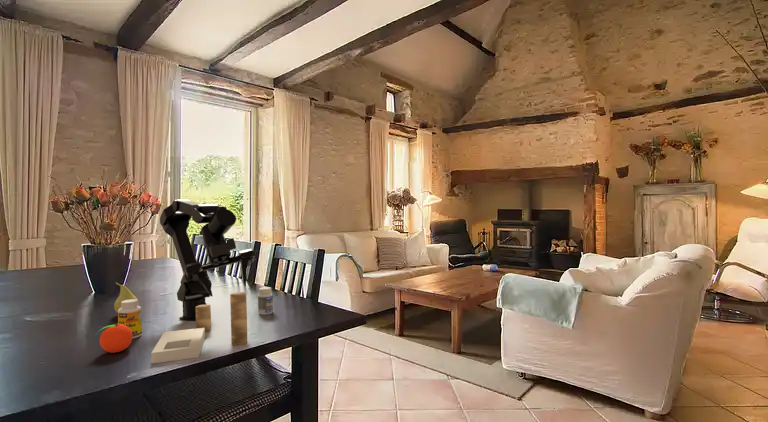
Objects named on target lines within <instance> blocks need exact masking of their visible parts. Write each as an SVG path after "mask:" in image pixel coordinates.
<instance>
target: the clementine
mask: <svg viewBox="0 0 768 422" xmlns="http://www.w3.org/2000/svg"><path fill="white" fill-rule="evenodd" d="M103 329H104V330H103ZM101 330H103V331H102V332H101V334H100V335H99V344H100V347H101V348H102V350H104V351H105V352H108V353H111V354H113V353H115V354H116V352H117V353H120V352H122V351H124V350H126V349H127V348H128V347H129V346H130V345H131V343H132V341H133V339H132V336H133V335H132V331H131V329H130V328H129V327H128V326H126V325H123V324H118V323H115V324H109V325H106V326H104V327H102V328H101V329H99V330H98V331H97V333H96V334H95V336H94V337H96V335H97V334H98V333H99V331H101Z"/></svg>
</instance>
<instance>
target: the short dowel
mask: <svg viewBox="0 0 768 422" xmlns="http://www.w3.org/2000/svg"><path fill="white" fill-rule="evenodd" d="M211 308H212V307H211V304H206V305H199V306H196V320H195V329H196V328H205V333H206V332H209V331H211V330H212V312H211V311H212V309H211Z"/></svg>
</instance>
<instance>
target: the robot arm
mask: <svg viewBox="0 0 768 422" xmlns="http://www.w3.org/2000/svg"><path fill="white" fill-rule="evenodd" d="M191 220H192V221H194V222H195V224H204V225H203V226H202V227H201V229H200V230H199V236H202V240H203V243H204V246H205V249H206V253H207V257H208V261H209V262H208V263H203V264H201V261H197V258H196V256H195V252H194V249H193V246H192V244H191V241H190V237H189V235H188V232H187V231H188V229H189V227H190V221H191ZM236 222H237V216H236V214H235V213H234V212H233V211H232V210H231V209H227V206H226V205H221V206H219V205H218V204H217V203H215V204H213V203H212V204H211V203H210V204H205V203H203V204H201V203H198V202H195V201H192V200H190V199H188V198H184V199H183V198H181V199H180V198H179V199H178V198H176V199H174V200H172V203H171V204H169V205H168V206H167V207H165V208H164V209H163V210H162V211H161V214H160V217H159V224H160V226H162V230H163V232H164V233H165V234H167V235H168V236H169V237H171V239H172V243H173V245H174V248H175V251H176V254H177V257H178V262H179V264H180V267H181V270H182V276H181V280H180V286H179V288H178V290H177V292H176V297H177V300H178V301H180V302H182V316H180V317H178V318H179V320H186V321H196V306H199V305H207V302H206V298H211V297H213V292H212V281H211V279H210V277H209V274H208V271H210V270H214V269H218V268H222V267H225V266H228V265H233V264H237V263H239V264H240V266H239V267H240V274H241V278H242V284H243V286H244V288H245V287H246V286H247V271H248V267H250V266H251V264H252V263H254V262H255V258H256V254H255V251H254V249H252V248H249V249H243V250H240V251H238V255H235V256H232V254H231V251H232V250H233V251H234V250H236V249H237V245H236V242H235V238H234V237H232V238H228V239H225V234H227V233H228V231H229V230H230V229H231V228H232V227H233V226H234V224H235V223H236Z"/></svg>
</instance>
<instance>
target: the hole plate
mask: <svg viewBox="0 0 768 422" xmlns="http://www.w3.org/2000/svg"><path fill="white" fill-rule="evenodd" d="M205 337H206V332H205V328H196V327H195V328H189V329H179V330H170V331H164V332H163V333H162V335H161V337H160V338H159V340H158V341H157V343H156V344H155V346H154V348H153V349H152V351H151V353H150V354H151V355H150V357H151V364H158V363H165V362H174V361H182V360H189V359H196V358H199V357H200V355H201V351H202V348H203V344H204V341H205Z"/></svg>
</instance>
